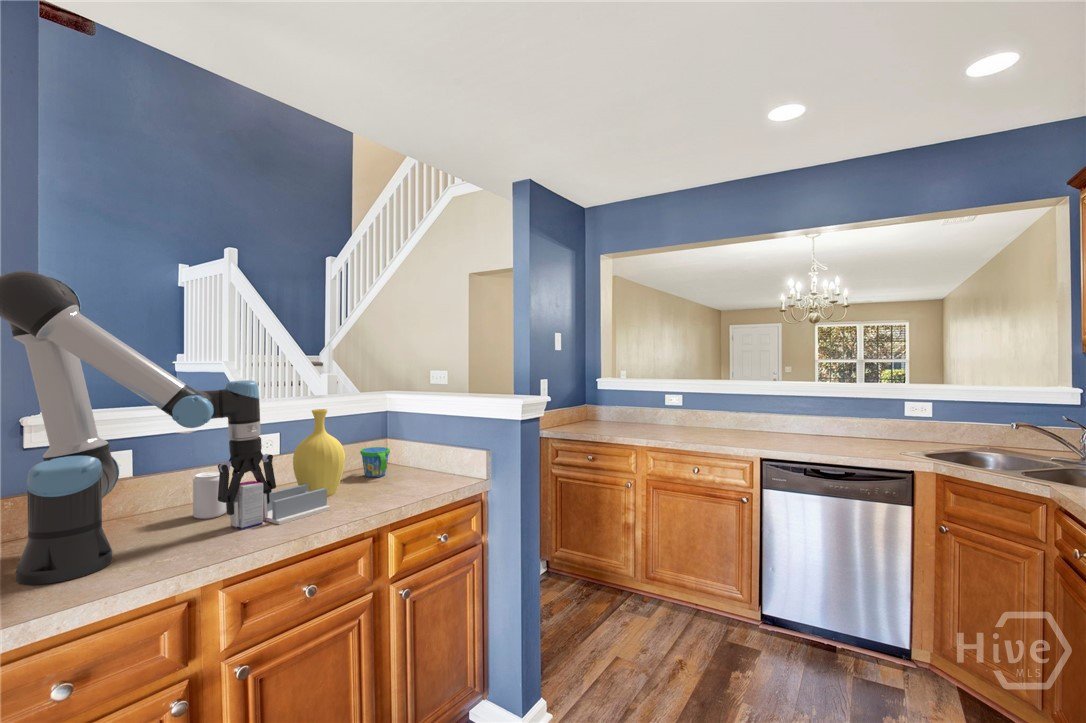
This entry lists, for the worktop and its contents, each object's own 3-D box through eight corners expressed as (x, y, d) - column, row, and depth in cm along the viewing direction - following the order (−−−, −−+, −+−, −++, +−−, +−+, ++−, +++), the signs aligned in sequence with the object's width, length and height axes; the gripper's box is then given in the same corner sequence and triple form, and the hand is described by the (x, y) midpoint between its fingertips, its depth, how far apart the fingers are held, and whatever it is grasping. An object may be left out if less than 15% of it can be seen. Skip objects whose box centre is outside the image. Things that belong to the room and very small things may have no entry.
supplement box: (264, 524, 139) (264, 482, 139) (241, 530, 134) (241, 487, 134) (252, 520, 142) (252, 479, 142) (230, 526, 137) (230, 484, 137)
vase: (350, 495, 167) (350, 411, 167) (296, 503, 158) (297, 413, 158) (339, 484, 181) (339, 406, 180) (289, 491, 172) (289, 408, 171)
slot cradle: (279, 524, 139) (279, 502, 139) (250, 515, 146) (250, 495, 146) (330, 509, 153) (330, 489, 153) (301, 502, 160) (301, 483, 160)
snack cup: (395, 478, 191) (395, 451, 191) (367, 482, 185) (367, 454, 185) (382, 470, 204) (382, 444, 204) (355, 473, 198) (355, 447, 198)
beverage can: (210, 521, 141) (210, 478, 141) (185, 518, 143) (185, 476, 143) (233, 512, 149) (233, 471, 149) (210, 510, 151) (210, 470, 151)
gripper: (213, 446, 127) (218, 536, 128) (288, 432, 144) (292, 511, 145) (197, 443, 131) (202, 530, 132) (272, 430, 148) (276, 507, 149)
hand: (249, 520), depth 139 cm, fingers open, 7 cm apart
